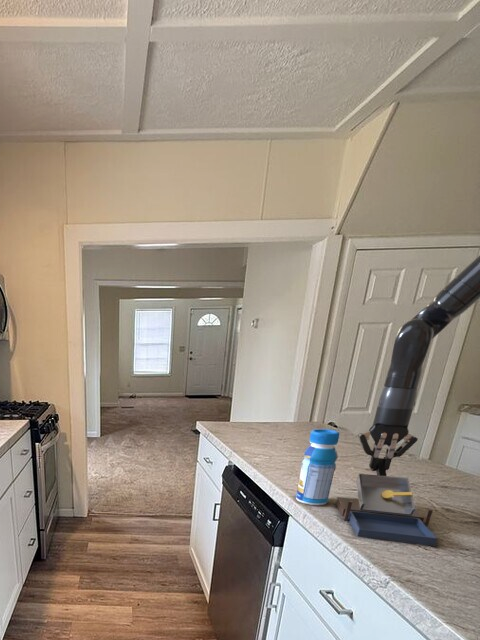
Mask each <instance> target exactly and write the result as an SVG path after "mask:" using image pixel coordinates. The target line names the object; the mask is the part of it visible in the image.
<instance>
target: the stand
mask: <svg viewBox="0 0 480 640" xmlns="http://www.w3.org/2000/svg"><path fill="white" fill-rule="evenodd" d="M335 503H336V506H337V509H338V510H339V513H340V514H341V517H343V518H342V519H343V521H345V522H348V521H349V519H348V518H349V514H350V511H357V512H367V513H376V514H385V515H394V516H403V517H413V518H419V519H420V520H421V521H422V522H423V523H424V524H425V525H426V526H427V527H428V526H429V523H430V521H431V518H432V514H433V511H434V510H433V509H432V508H428V507H427V509H426V511H425V515H424V516H423V515H422V514H421V512H420V511H419V510H418V509H417V508H415V511H414V512H413V514H412V516H409V515H399V514H390V513H381V512H372V511H362V510H360V509H359V500H358V498H351V497H340V496H337V497H336V502H335ZM428 528H429V527H428Z"/></svg>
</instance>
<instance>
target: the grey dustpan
mask: <svg viewBox="0 0 480 640" xmlns="http://www.w3.org/2000/svg"><path fill="white" fill-rule="evenodd" d="M378 458H379V461H378V464H377V468H376V471H375V472H376V474H368V473H358V475H357V477H356V480H355V483H356V492H357V499H358V500H359V509H360V510H362V511H372V512H381V513H390V514H399V515H409V516H412V514H413V512H414V511H415V509H416V504H415V501H414V497H413V496H414V495H412V496H393V497H392V498H389V499H386V498H383V497H382V493H383V492H384V491H387V490H391V491H393V492H412V488H411V484H410V480H409V477H405V476H393V475H387V470H385V464H384V459H383V458H384V457H383V458H382V457H378Z"/></svg>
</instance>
